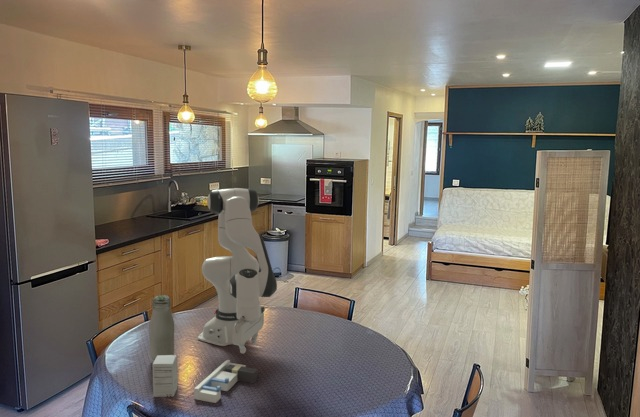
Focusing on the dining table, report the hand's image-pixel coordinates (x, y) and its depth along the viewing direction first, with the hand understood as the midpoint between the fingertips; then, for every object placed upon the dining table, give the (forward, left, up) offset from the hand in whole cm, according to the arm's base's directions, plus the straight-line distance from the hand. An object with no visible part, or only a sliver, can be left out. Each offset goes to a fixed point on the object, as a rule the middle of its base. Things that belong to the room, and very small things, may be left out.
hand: (248, 347), depth 183 cm
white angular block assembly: (-8, -7, -13) cm, 17 cm away
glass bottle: (-41, +3, -13) cm, 43 cm away
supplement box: (-25, -18, -13) cm, 33 cm away
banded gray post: (-3, 0, -13) cm, 14 cm away
